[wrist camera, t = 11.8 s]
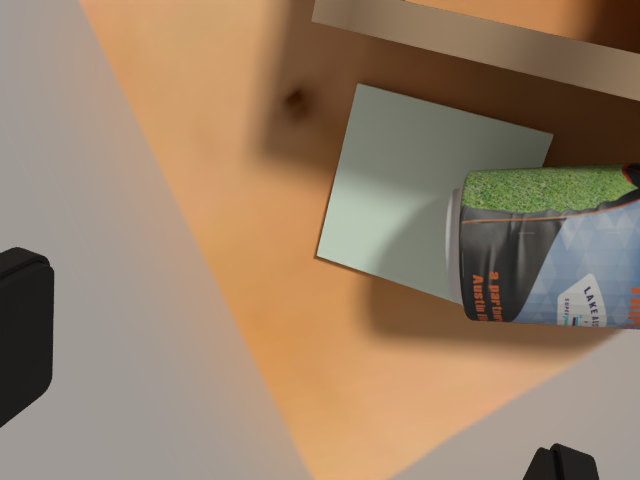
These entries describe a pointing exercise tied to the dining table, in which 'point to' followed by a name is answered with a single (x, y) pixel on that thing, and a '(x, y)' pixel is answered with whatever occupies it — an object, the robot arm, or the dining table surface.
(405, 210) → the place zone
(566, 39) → the box
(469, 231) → the beverage can
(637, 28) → the dining table surface
